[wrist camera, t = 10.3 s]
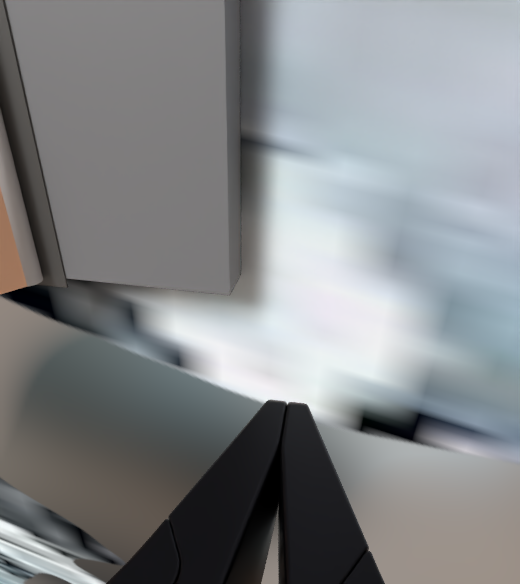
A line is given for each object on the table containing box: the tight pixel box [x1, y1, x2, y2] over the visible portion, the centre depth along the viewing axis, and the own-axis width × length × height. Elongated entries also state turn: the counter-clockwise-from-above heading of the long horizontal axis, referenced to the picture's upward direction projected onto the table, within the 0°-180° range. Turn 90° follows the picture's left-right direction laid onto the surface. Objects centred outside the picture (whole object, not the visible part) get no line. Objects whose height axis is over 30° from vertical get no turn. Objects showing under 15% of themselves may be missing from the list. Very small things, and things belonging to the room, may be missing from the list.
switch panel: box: [0, 0, 241, 295], centre depth 17 cm, size 16×22×3 cm
